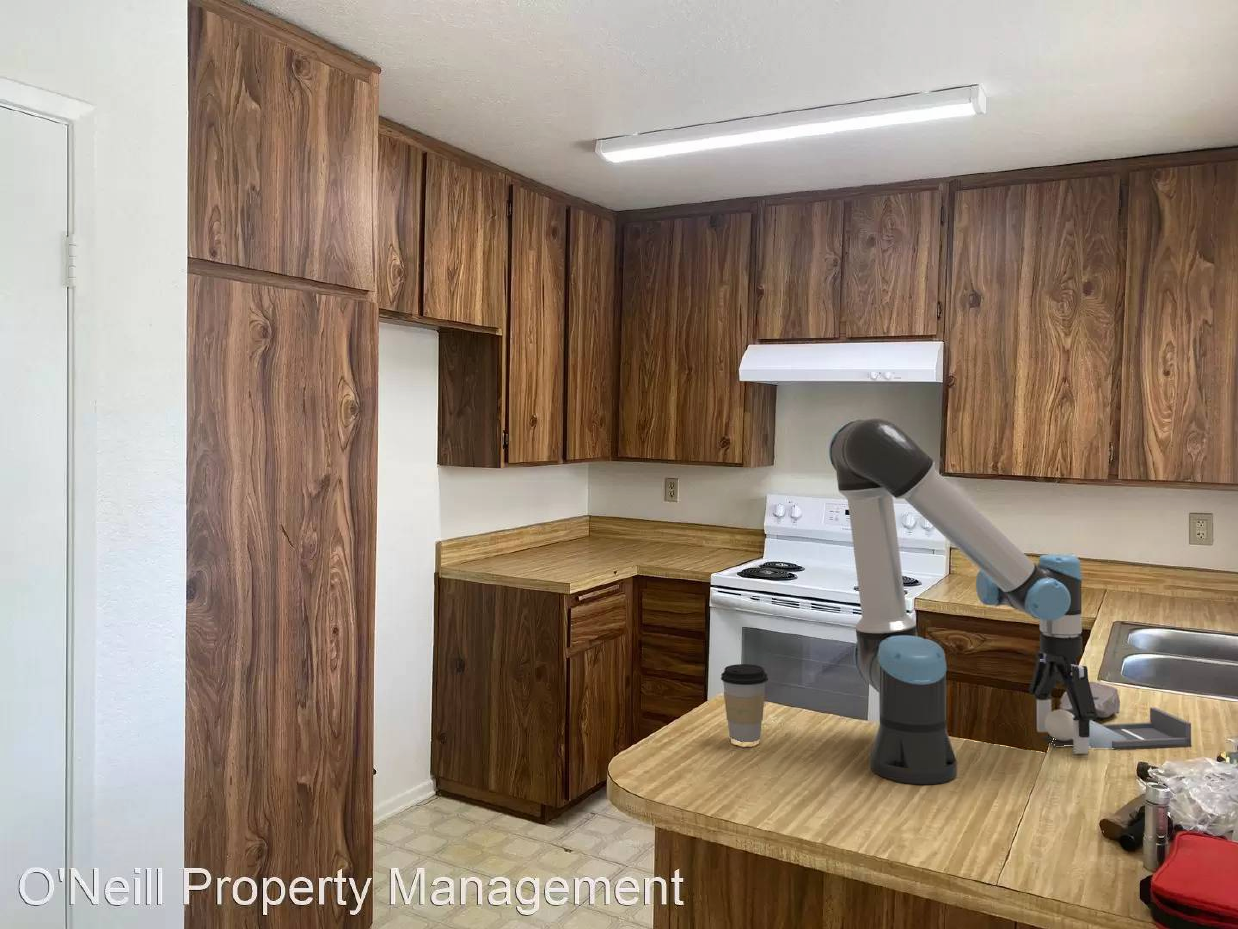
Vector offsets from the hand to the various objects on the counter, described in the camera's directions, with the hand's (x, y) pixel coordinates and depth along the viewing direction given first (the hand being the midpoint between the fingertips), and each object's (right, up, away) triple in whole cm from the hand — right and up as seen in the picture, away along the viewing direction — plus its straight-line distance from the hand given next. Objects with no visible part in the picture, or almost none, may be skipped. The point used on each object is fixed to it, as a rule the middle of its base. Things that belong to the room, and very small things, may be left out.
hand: (1062, 742), depth 179 cm
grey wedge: (+8, -5, +1) cm, 9 cm away
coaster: (0, 0, 0) cm, 0 cm away
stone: (+15, 0, +18) cm, 23 cm away
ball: (0, +3, 0) cm, 3 cm away
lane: (+15, 0, +1) cm, 15 cm away
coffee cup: (-62, -2, +4) cm, 62 cm away
